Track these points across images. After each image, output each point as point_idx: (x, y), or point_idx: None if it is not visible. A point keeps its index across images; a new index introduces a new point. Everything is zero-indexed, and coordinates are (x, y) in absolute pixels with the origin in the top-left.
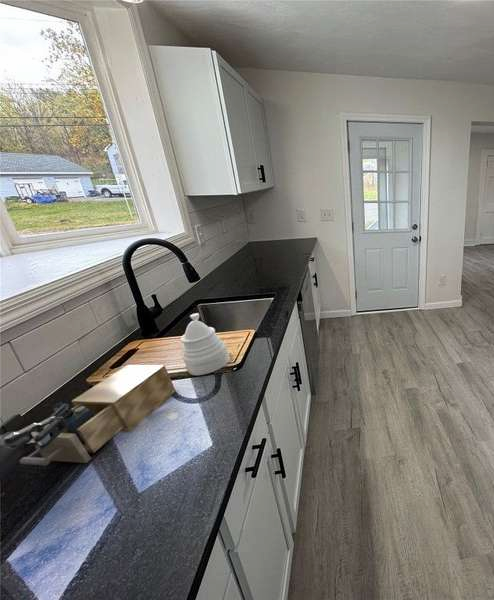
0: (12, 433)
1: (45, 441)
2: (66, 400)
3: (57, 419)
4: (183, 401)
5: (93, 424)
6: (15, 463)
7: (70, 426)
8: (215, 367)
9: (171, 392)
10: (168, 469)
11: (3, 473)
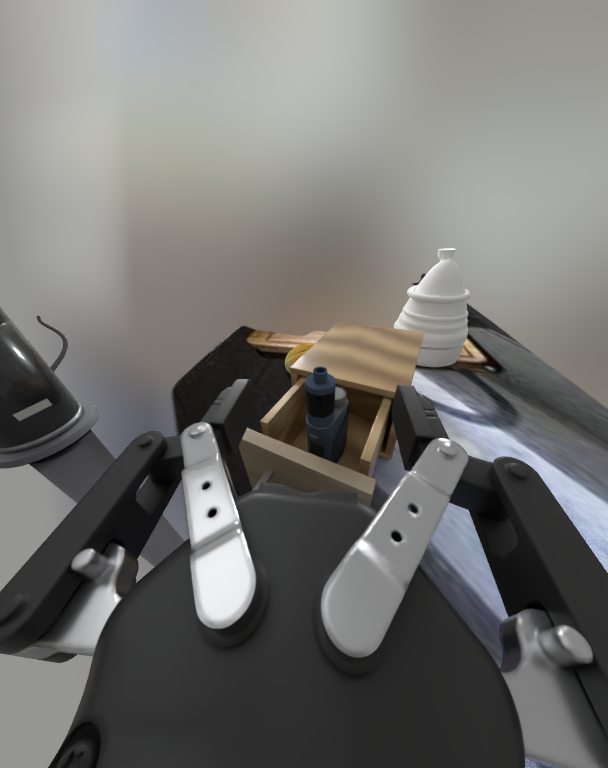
0: (353, 558)
1: None
2: (234, 362)
3: (519, 479)
4: (450, 414)
5: (377, 446)
6: None
7: (325, 436)
8: (453, 358)
9: None
10: None
11: None
